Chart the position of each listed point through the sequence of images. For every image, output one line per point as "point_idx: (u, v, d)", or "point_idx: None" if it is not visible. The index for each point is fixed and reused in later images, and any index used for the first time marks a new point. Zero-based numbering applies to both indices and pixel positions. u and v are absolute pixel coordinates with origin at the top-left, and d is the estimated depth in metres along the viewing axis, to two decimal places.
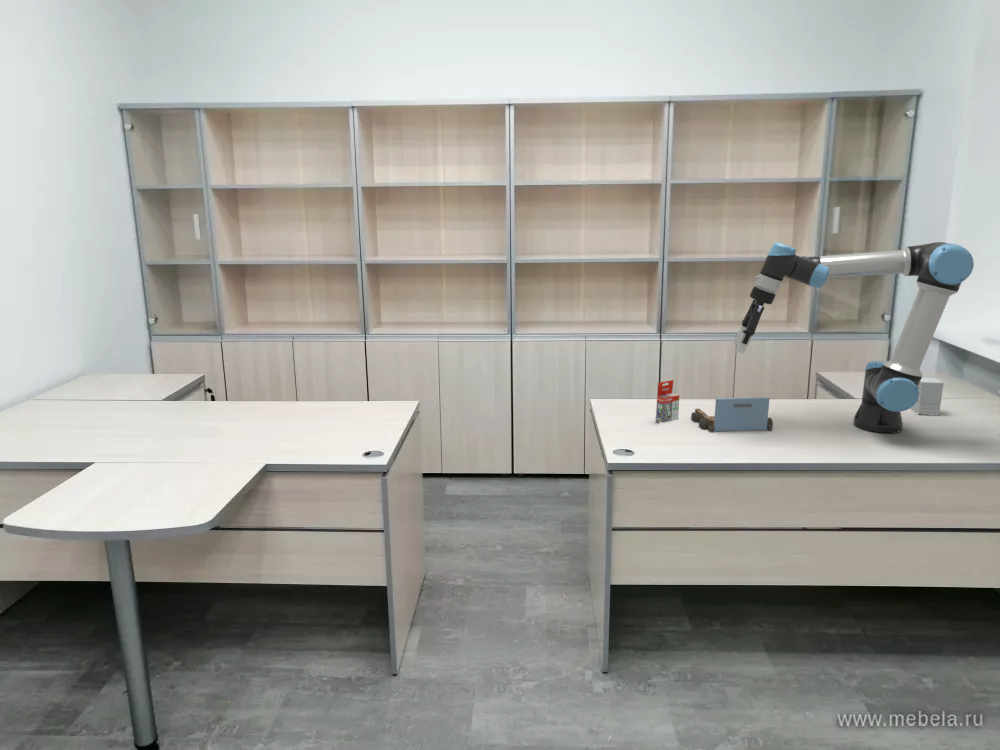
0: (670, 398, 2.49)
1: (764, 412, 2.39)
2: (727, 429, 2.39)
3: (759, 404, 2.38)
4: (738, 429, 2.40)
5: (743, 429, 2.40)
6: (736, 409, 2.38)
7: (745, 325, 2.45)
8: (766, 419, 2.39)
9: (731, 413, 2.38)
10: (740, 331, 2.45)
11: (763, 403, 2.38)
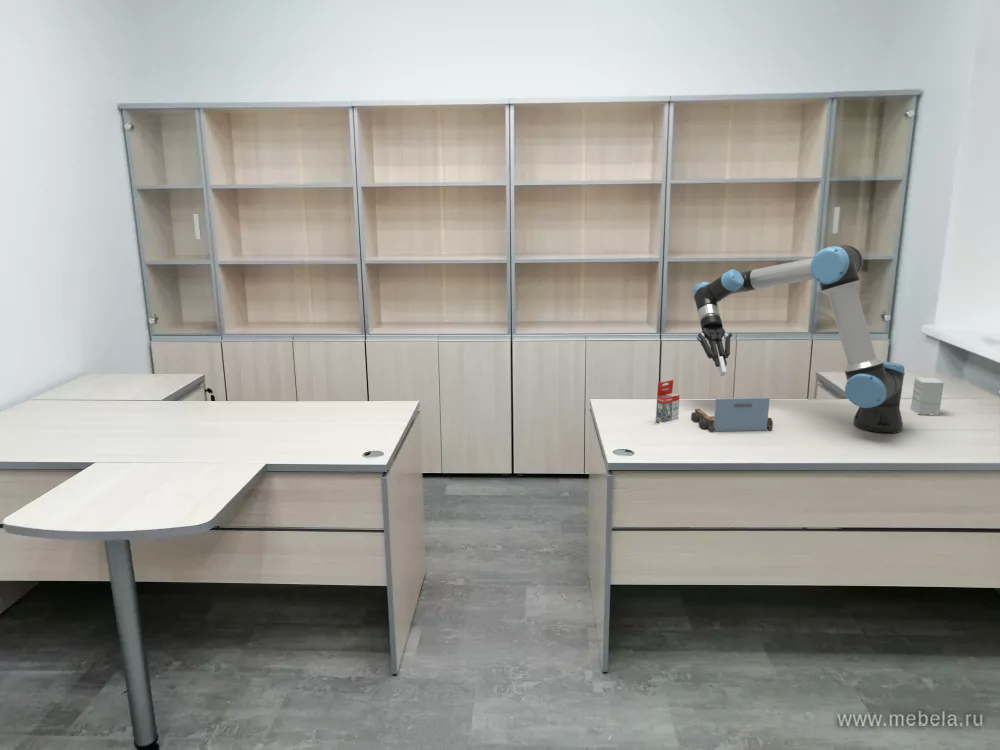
0: (670, 398, 2.49)
1: (764, 412, 2.39)
2: (727, 429, 2.39)
3: (759, 404, 2.38)
4: (738, 429, 2.40)
5: (743, 429, 2.40)
6: (736, 409, 2.38)
7: None
8: (766, 419, 2.39)
9: (731, 413, 2.38)
10: None
11: (763, 403, 2.38)
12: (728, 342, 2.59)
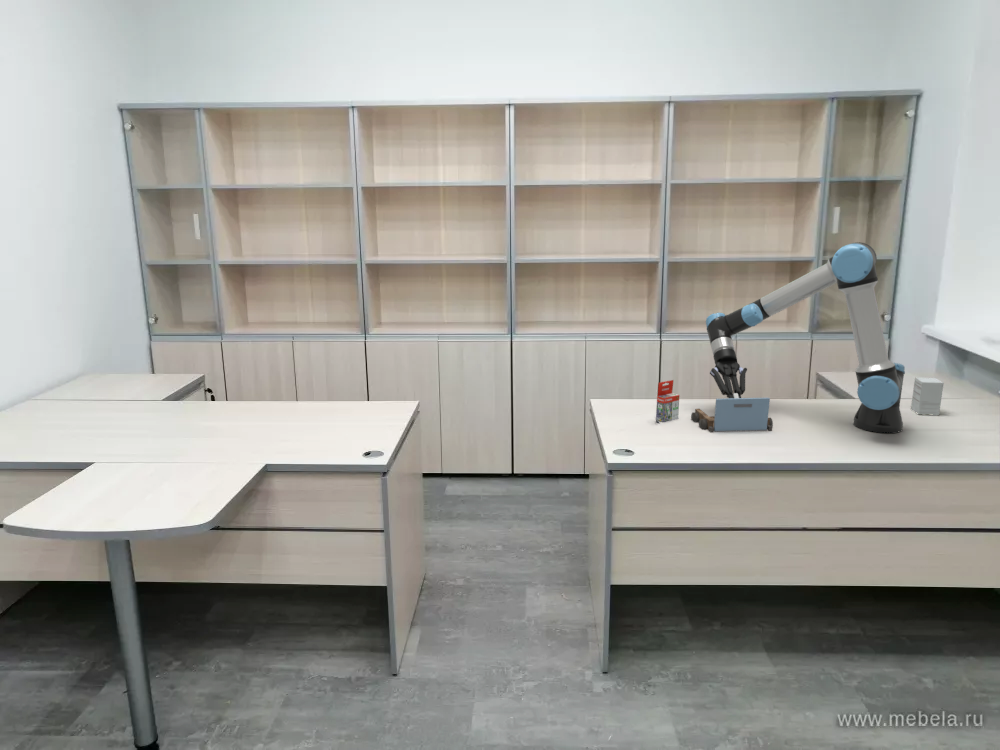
0: (670, 398, 2.49)
1: (764, 412, 2.39)
2: (727, 429, 2.39)
3: (759, 404, 2.38)
4: (738, 429, 2.40)
5: (743, 429, 2.40)
6: (736, 409, 2.38)
7: None
8: (766, 419, 2.39)
9: (731, 413, 2.38)
10: None
11: (763, 403, 2.38)
12: (743, 377, 2.46)
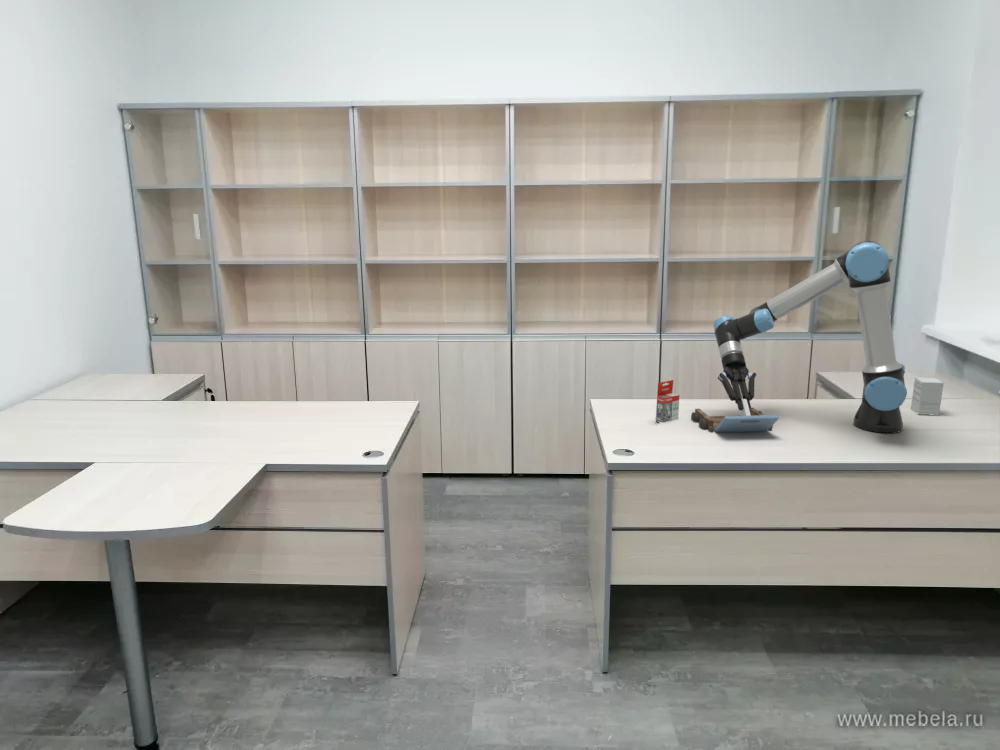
0: (670, 398, 2.49)
1: (769, 423, 2.35)
2: (727, 431, 2.39)
3: (767, 420, 2.32)
4: (738, 431, 2.40)
5: None
6: (742, 423, 2.33)
7: None
8: (769, 426, 2.37)
9: (736, 424, 2.34)
10: None
11: (771, 420, 2.32)
12: (752, 383, 2.39)
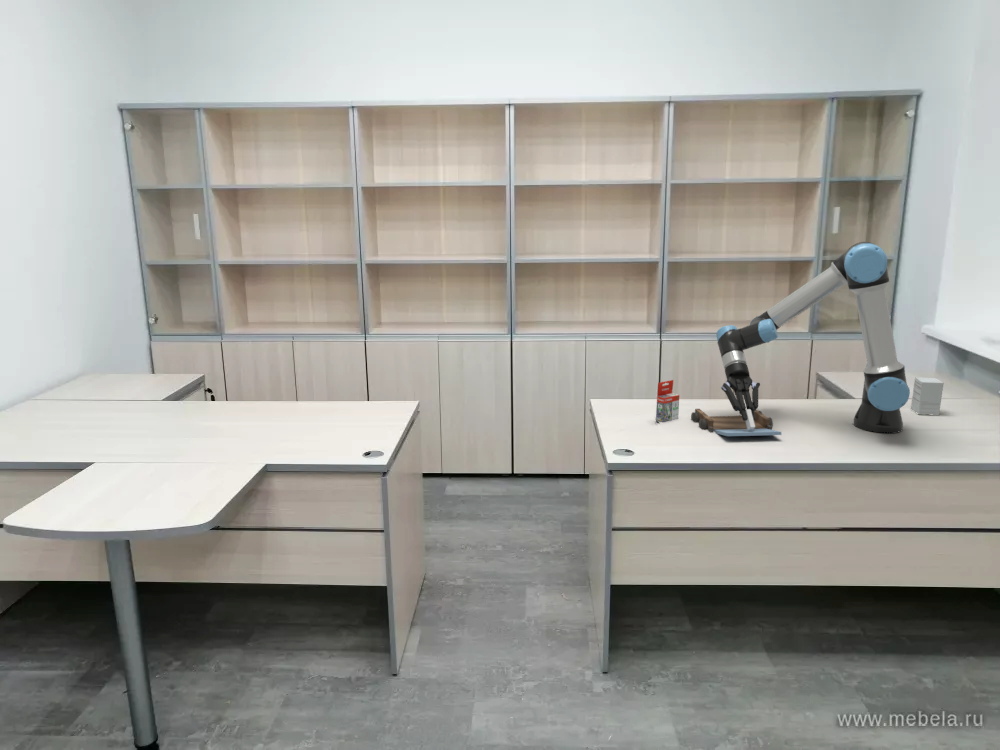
0: (670, 398, 2.49)
1: None
2: None
3: None
4: None
5: None
6: None
7: None
8: None
9: None
10: None
11: None
12: (756, 393, 2.36)
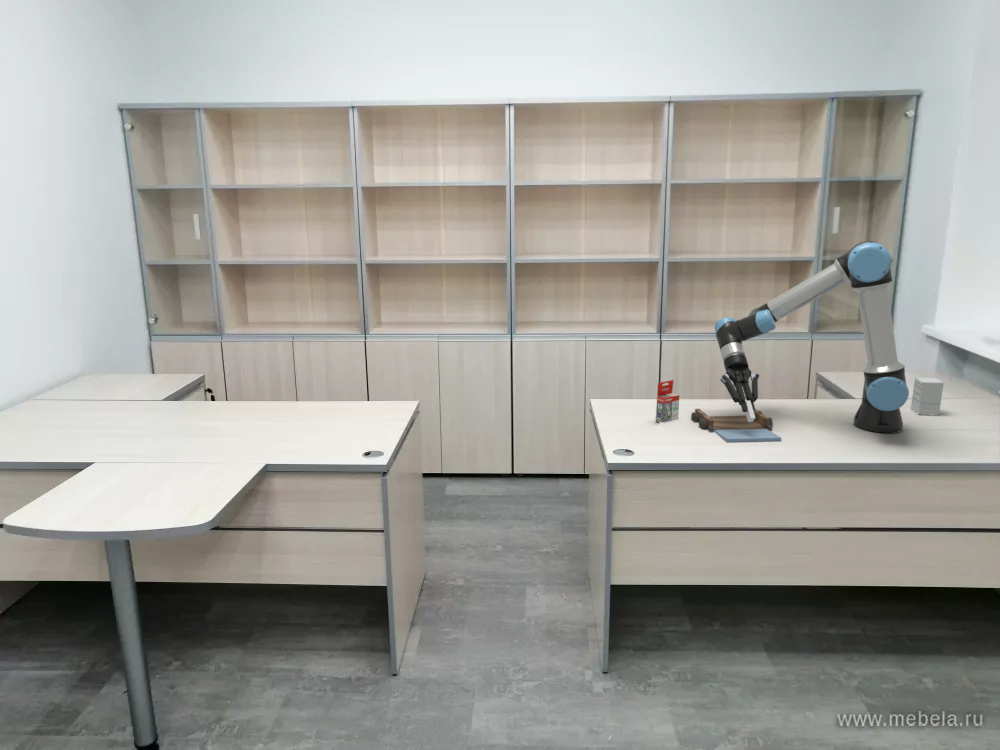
0: (670, 398, 2.49)
1: None
2: None
3: None
4: None
5: None
6: None
7: (748, 401, 2.35)
8: None
9: None
10: None
11: None
12: (755, 384, 2.37)
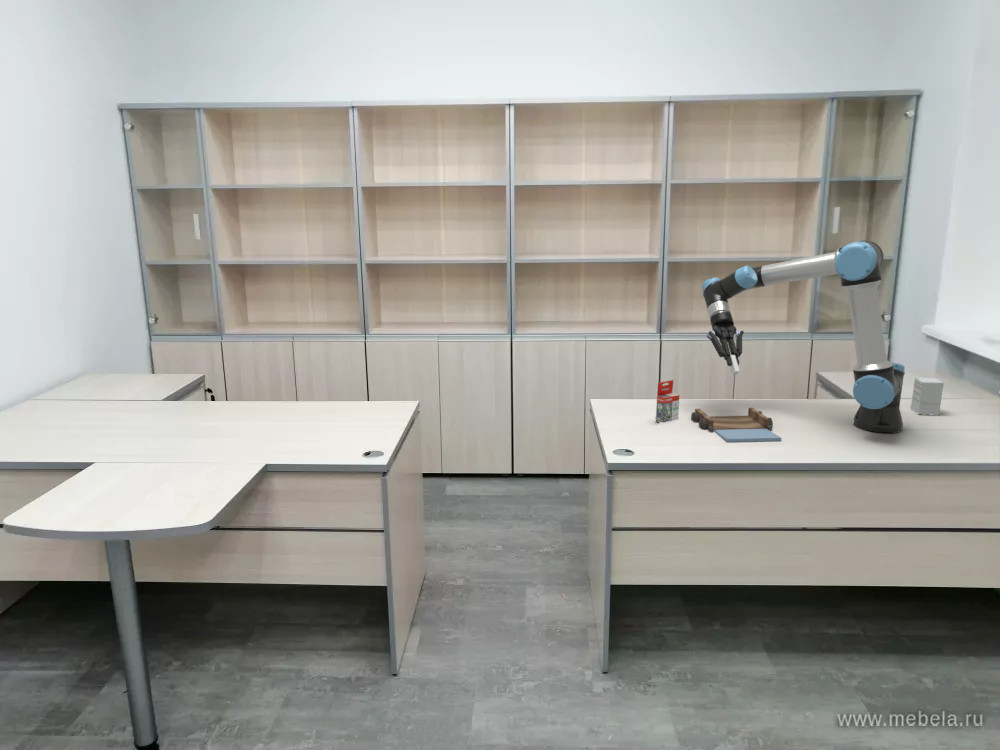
0: (670, 398, 2.49)
1: None
2: None
3: None
4: None
5: None
6: None
7: None
8: None
9: None
10: None
11: None
12: (740, 340, 2.48)
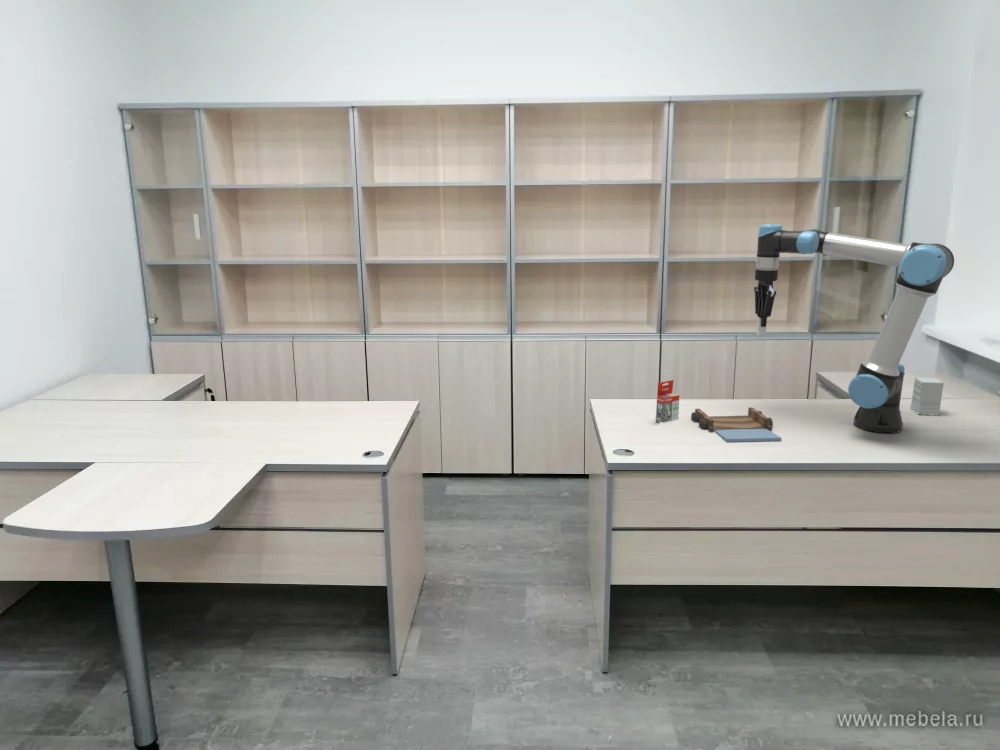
0: (670, 398, 2.49)
1: None
2: None
3: None
4: None
5: None
6: None
7: None
8: None
9: None
10: None
11: None
12: None
